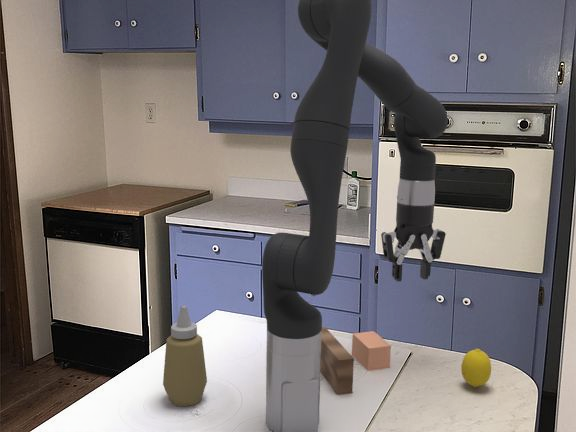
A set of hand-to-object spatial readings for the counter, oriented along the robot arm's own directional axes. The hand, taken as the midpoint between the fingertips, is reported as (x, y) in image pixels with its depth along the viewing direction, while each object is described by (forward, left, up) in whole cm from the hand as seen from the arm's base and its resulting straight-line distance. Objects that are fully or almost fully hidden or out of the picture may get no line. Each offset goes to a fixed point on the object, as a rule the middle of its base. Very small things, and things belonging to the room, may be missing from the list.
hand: (410, 279), depth 128 cm
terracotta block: (0, +9, -18) cm, 20 cm away
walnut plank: (-4, +19, -17) cm, 26 cm away
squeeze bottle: (-7, +48, -18) cm, 52 cm away
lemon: (-16, -6, -18) cm, 25 cm away
